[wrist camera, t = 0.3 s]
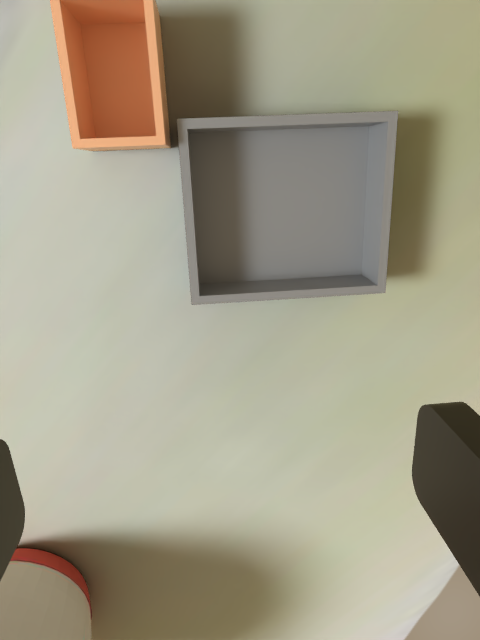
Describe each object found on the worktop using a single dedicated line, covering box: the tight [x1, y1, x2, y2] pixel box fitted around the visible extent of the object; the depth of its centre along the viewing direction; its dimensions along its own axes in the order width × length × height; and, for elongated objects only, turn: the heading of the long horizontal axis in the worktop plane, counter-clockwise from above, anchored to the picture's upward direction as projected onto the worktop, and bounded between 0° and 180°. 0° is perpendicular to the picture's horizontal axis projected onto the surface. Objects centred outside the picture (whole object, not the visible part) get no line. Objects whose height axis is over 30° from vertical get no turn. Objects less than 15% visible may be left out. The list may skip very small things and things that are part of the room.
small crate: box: [50, 0, 171, 151], centre depth 28 cm, size 8×6×5 cm
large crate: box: [177, 111, 398, 305], centre depth 32 cm, size 12×14×4 cm
